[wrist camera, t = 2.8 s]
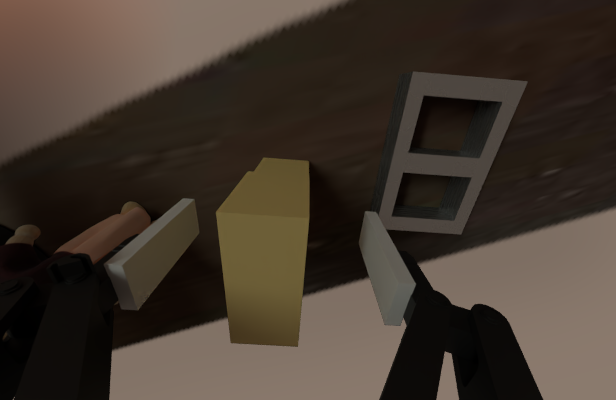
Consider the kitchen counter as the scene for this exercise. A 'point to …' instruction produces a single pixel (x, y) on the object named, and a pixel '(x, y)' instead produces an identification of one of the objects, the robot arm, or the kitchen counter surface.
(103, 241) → the grandmother figurine
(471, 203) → the grey flat frame
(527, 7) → the kitchen counter surface
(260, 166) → the yellow notched block
